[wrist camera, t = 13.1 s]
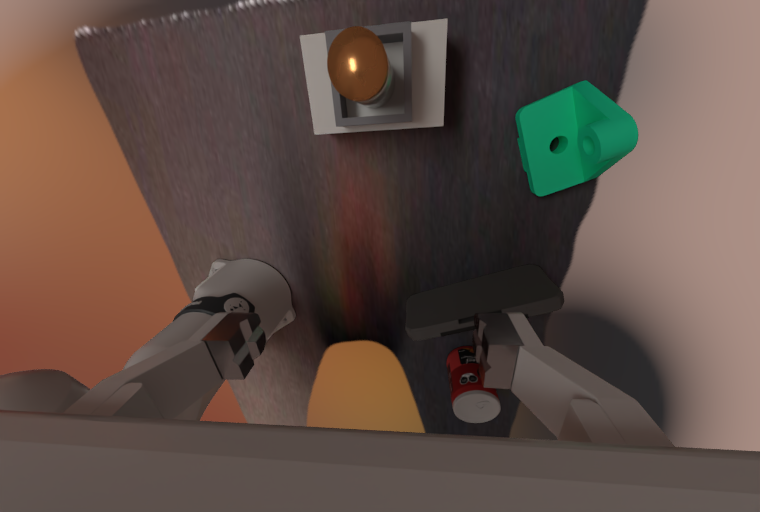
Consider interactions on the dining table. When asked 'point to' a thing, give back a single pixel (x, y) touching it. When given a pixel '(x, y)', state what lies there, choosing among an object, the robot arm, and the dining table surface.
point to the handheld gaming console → (481, 301)
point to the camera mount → (572, 137)
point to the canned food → (470, 388)
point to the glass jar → (361, 67)
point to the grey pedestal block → (412, 75)
